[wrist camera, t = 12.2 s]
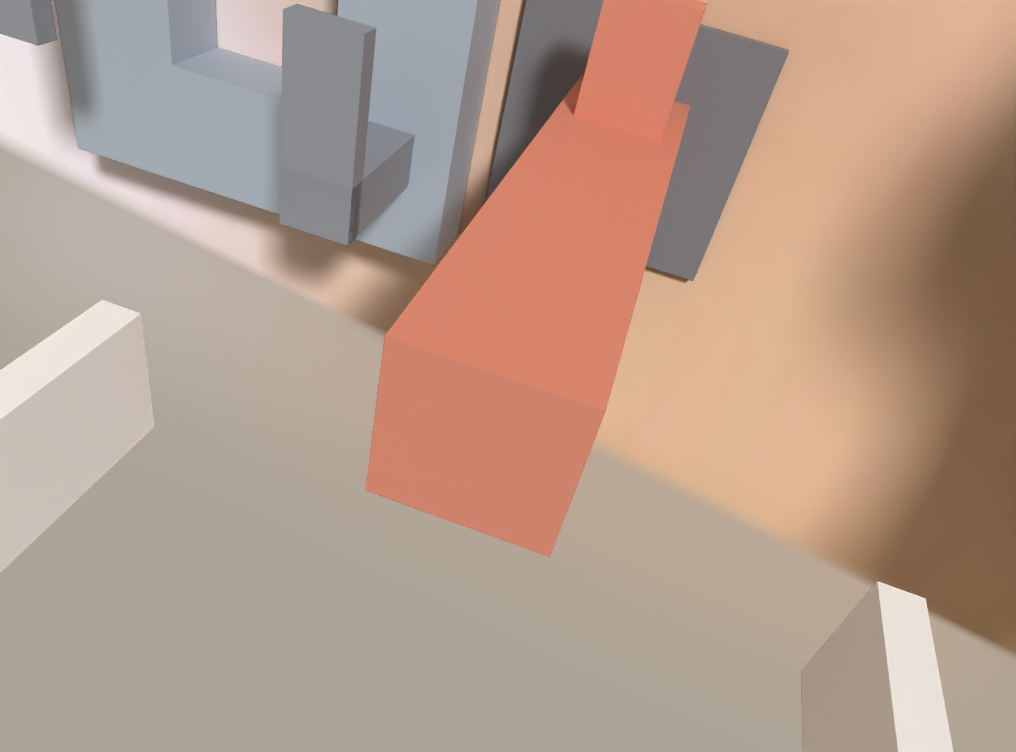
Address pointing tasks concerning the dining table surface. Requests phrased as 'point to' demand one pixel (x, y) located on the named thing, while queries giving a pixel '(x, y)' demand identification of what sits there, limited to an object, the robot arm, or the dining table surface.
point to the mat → (704, 86)
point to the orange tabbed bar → (538, 297)
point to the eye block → (287, 107)
